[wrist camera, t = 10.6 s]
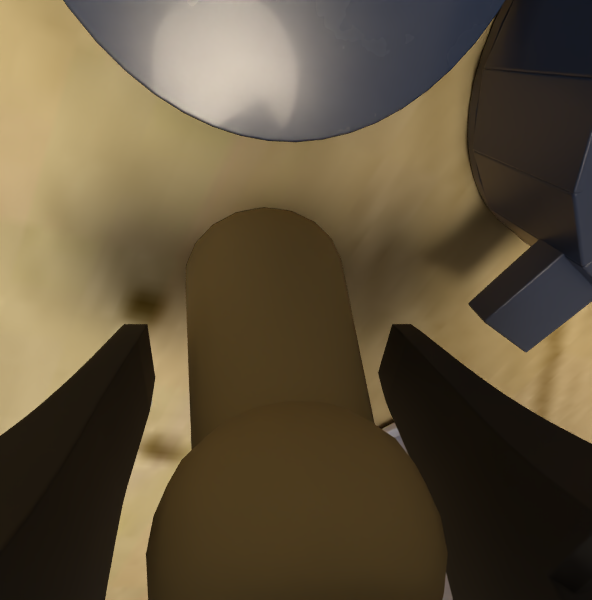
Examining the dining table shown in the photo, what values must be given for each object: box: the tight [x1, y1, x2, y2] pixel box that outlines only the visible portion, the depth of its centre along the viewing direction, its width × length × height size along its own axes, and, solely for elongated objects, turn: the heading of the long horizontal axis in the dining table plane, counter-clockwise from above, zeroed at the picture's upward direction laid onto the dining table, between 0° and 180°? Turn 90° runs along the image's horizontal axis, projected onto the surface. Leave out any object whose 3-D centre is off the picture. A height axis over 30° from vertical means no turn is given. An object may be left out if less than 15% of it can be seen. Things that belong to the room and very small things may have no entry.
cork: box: [146, 208, 448, 600], centre depth 10 cm, size 6×6×11 cm
